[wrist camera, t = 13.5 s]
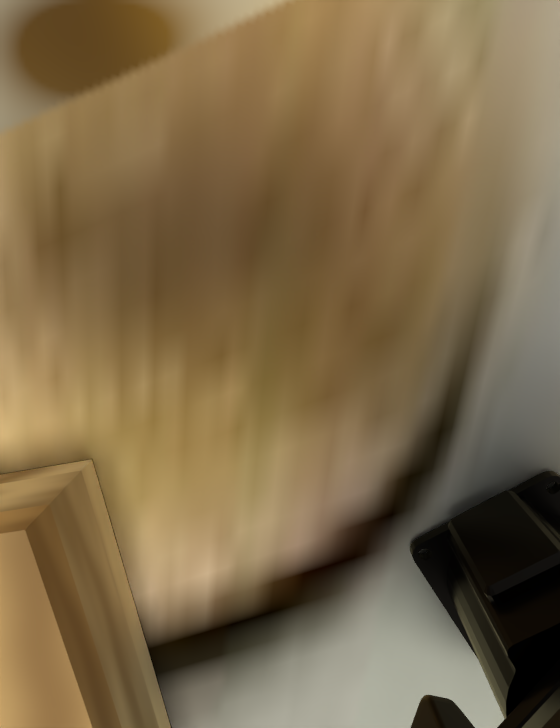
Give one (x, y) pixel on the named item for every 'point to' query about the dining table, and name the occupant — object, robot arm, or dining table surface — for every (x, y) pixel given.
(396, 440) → the dining table surface
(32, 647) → the tan flat piece
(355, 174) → the dining table surface
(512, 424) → the dining table surface
